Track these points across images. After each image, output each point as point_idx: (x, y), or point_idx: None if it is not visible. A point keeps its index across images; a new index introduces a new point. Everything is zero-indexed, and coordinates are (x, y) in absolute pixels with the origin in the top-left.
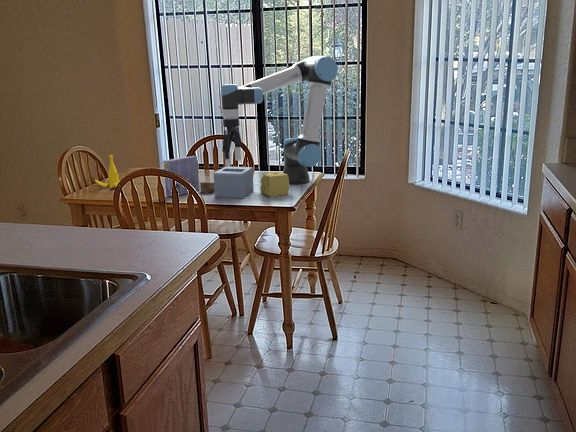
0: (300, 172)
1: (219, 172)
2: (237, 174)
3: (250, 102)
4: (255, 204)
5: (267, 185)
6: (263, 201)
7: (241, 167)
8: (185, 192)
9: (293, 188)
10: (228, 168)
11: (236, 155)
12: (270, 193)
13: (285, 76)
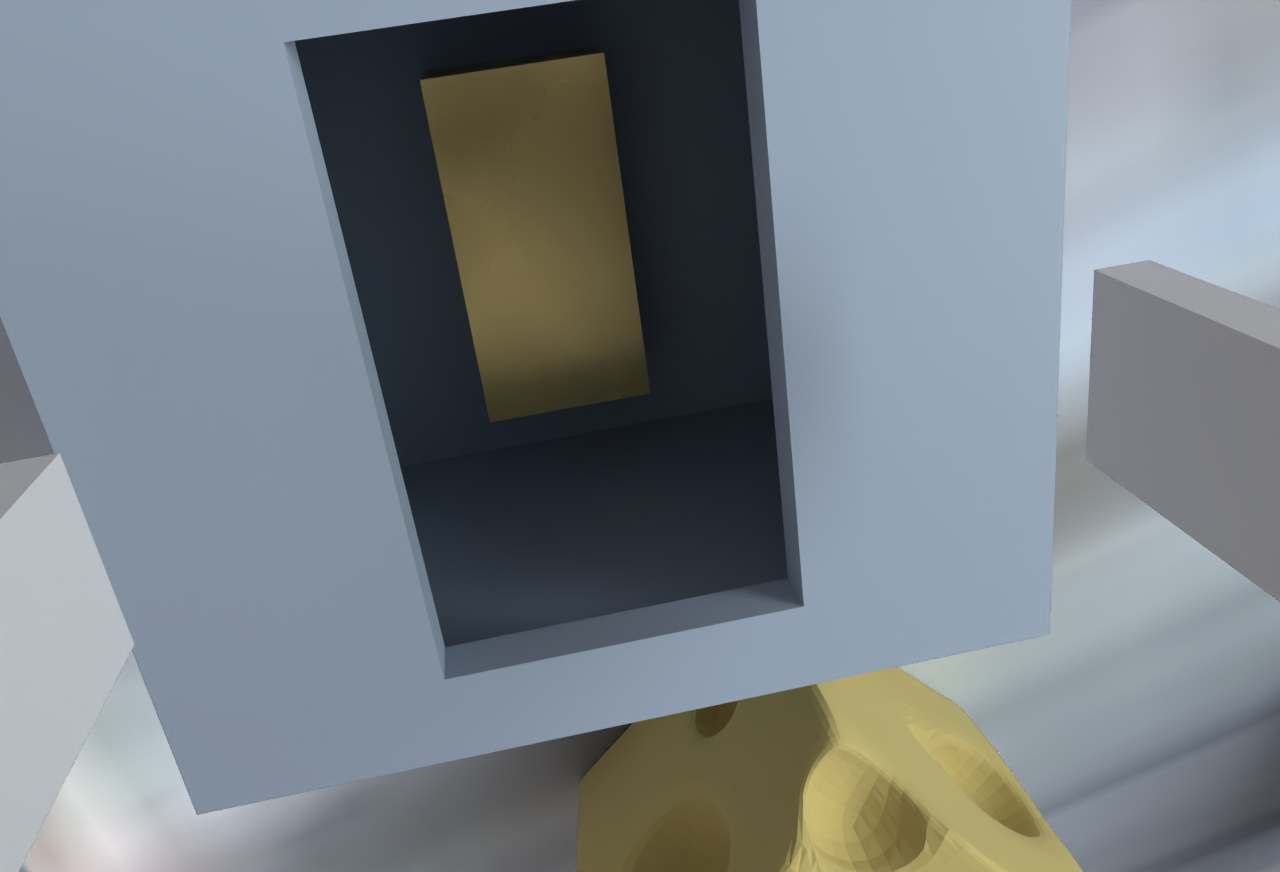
0: None
1: (44, 131)
2: (164, 706)
3: None
4: (91, 817)
5: (676, 820)
6: (298, 825)
7: (993, 384)
8: None
9: (1098, 809)
10: (773, 75)
11: (1221, 388)
12: (581, 819)
13: None
